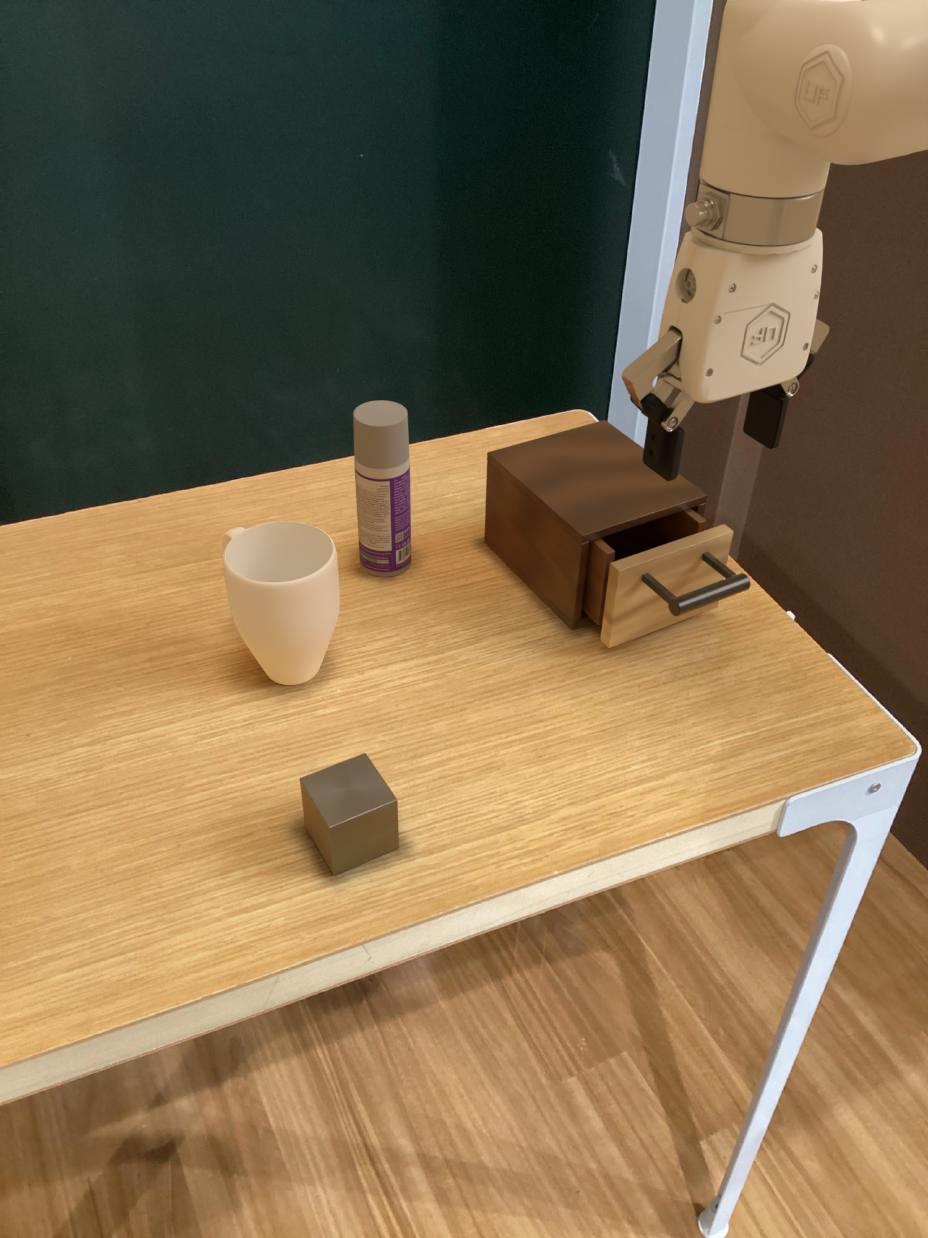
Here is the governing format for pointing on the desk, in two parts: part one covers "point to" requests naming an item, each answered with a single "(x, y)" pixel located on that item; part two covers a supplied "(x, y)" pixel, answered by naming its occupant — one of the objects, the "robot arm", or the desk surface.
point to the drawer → (657, 575)
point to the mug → (283, 595)
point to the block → (350, 813)
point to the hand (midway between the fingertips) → (710, 455)
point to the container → (382, 487)
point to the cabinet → (572, 506)
